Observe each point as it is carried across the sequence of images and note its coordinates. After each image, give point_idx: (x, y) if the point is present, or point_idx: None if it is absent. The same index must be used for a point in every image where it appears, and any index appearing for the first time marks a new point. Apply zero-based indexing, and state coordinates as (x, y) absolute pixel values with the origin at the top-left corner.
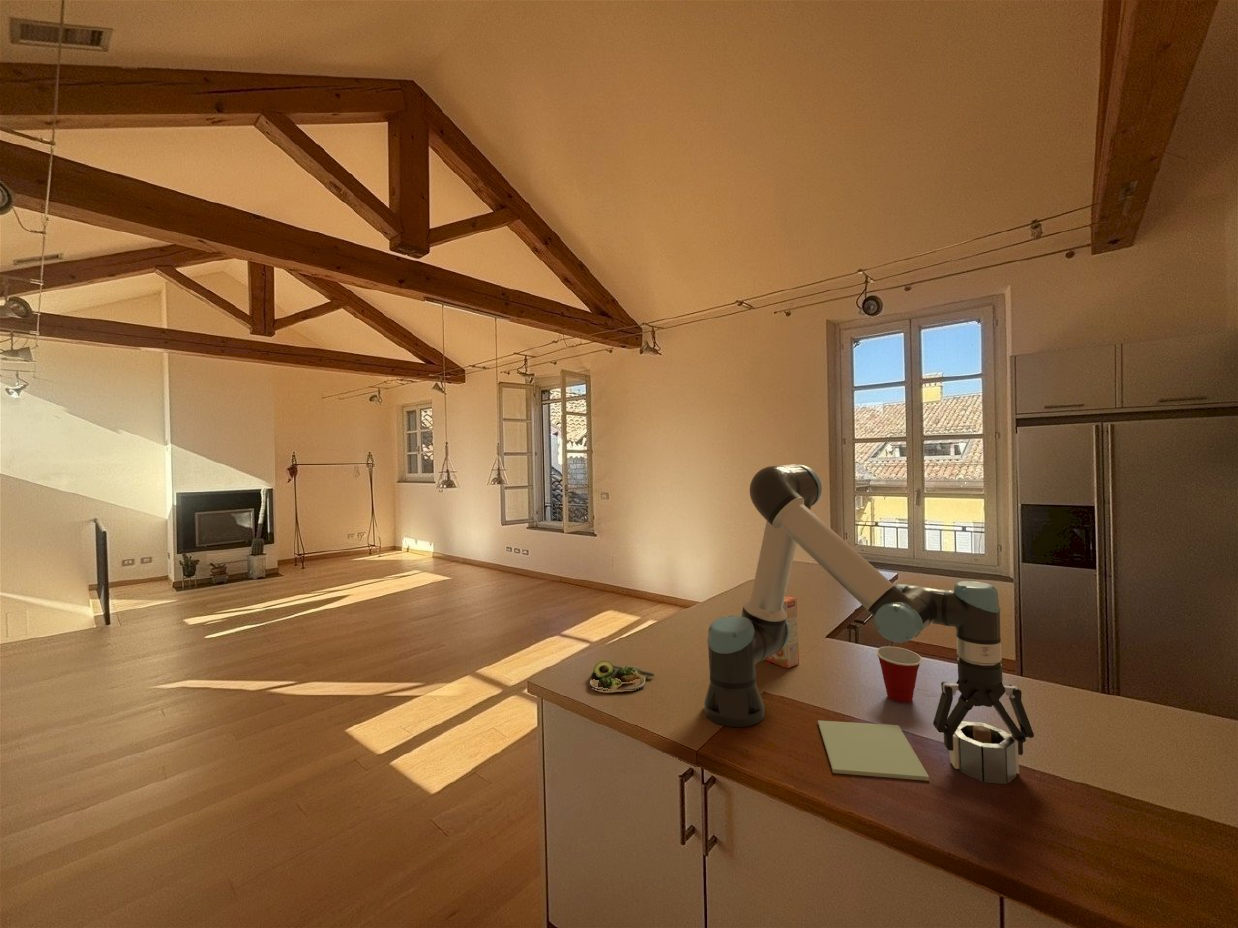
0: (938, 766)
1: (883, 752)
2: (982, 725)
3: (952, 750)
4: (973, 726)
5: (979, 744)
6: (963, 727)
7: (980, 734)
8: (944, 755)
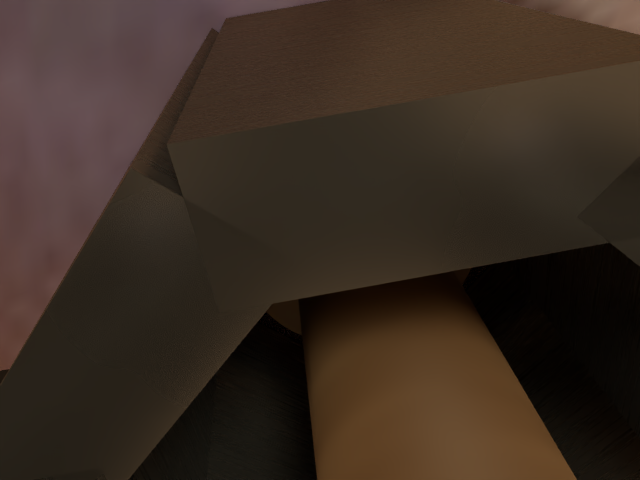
0: (9, 316)
1: None
2: (626, 219)
3: None
4: (411, 262)
5: None
6: (187, 401)
7: None
8: (43, 120)
